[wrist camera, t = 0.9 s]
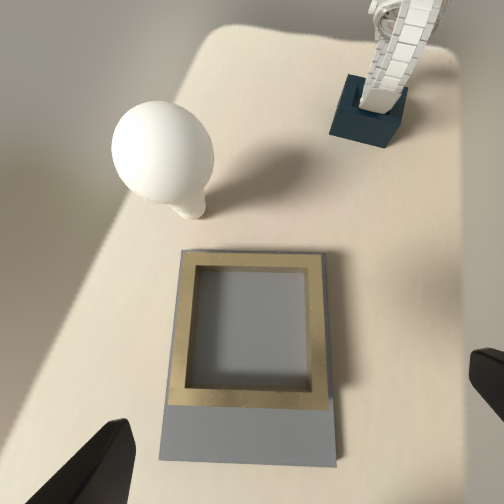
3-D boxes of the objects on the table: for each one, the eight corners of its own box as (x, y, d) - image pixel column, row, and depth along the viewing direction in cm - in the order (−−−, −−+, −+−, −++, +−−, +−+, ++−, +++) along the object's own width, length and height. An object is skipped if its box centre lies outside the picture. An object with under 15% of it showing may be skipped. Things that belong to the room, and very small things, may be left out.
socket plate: (333, 462, 19) (345, 483, 16) (162, 455, 19) (147, 474, 17) (322, 255, 23) (331, 244, 21) (184, 252, 24) (174, 241, 21)
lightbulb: (206, 170, 26) (171, 59, 16) (239, 220, 25) (225, 132, 14) (149, 202, 25) (71, 106, 15) (179, 255, 24) (117, 190, 13)
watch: (395, 99, 28) (476, -41, 18) (380, 163, 26) (464, 45, 15) (342, 87, 29) (390, -56, 18) (323, 148, 27) (366, 25, 16)
